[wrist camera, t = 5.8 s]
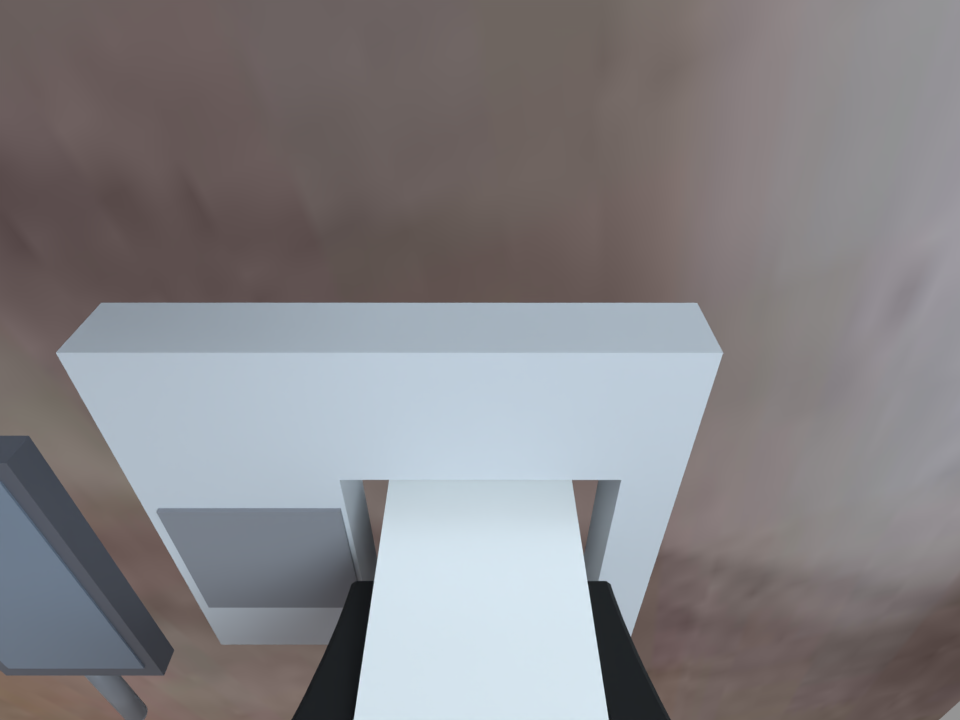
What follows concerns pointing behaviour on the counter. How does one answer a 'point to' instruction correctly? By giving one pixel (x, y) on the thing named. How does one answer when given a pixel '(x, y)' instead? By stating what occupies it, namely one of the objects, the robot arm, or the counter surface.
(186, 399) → the outlet plate
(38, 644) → the grey flat paddle piece
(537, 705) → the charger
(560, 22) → the counter surface
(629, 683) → the robot arm
